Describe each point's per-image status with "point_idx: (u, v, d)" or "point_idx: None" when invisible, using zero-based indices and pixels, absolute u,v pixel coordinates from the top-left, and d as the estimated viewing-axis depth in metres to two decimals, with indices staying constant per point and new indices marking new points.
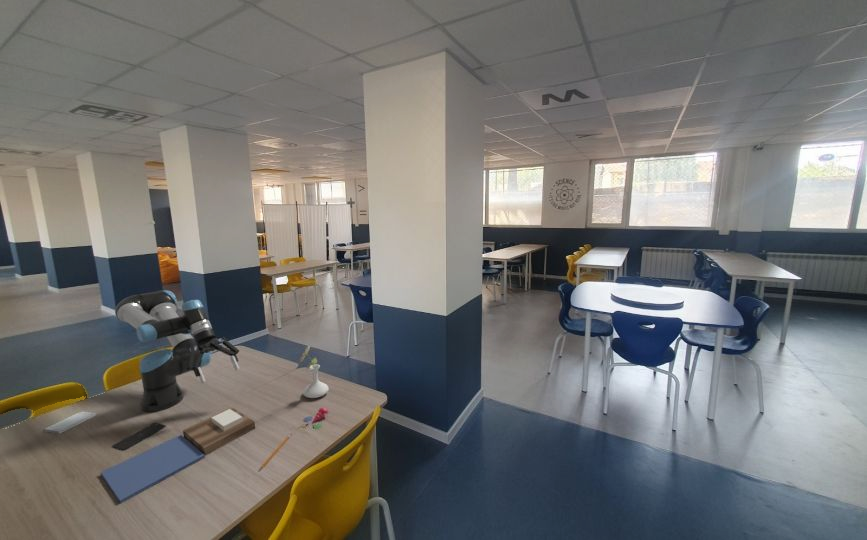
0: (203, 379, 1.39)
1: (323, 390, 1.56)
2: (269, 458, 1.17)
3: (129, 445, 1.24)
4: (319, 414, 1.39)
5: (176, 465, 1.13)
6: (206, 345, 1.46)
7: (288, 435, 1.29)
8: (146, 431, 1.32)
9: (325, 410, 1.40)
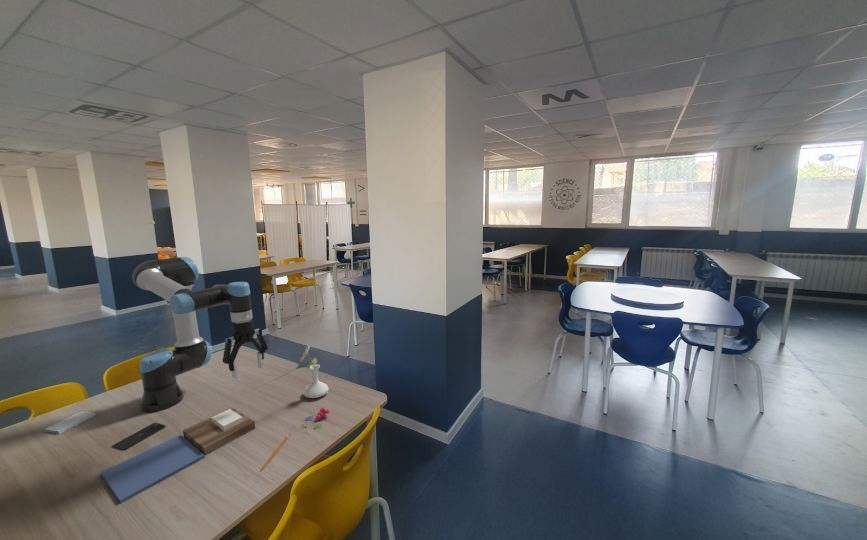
0: (236, 376, 1.33)
1: (323, 390, 1.56)
2: (270, 458, 1.17)
3: (129, 445, 1.24)
4: (320, 414, 1.39)
5: (176, 465, 1.13)
6: (243, 338, 1.34)
7: (287, 435, 1.29)
8: (146, 431, 1.32)
9: (326, 410, 1.40)
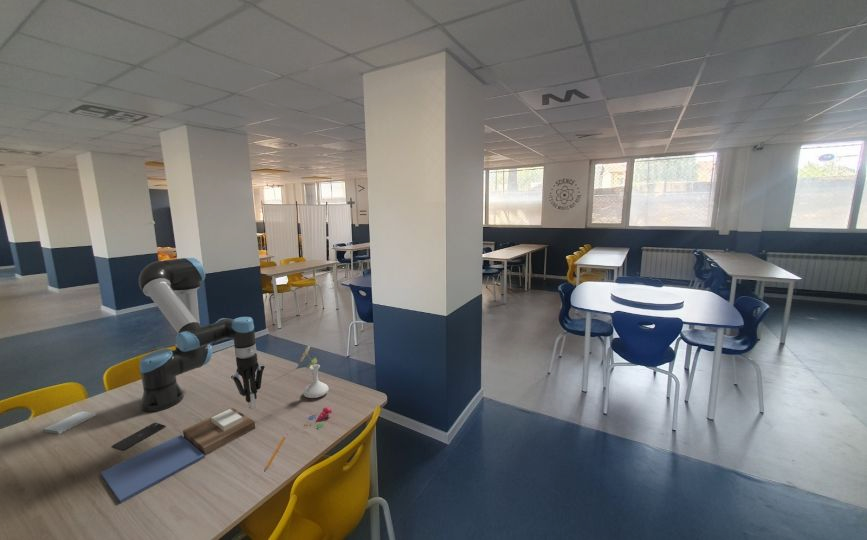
0: (252, 407, 1.40)
1: (323, 390, 1.56)
2: (272, 458, 1.17)
3: (129, 445, 1.24)
4: (323, 413, 1.39)
5: (176, 465, 1.13)
6: (247, 372, 1.36)
7: (284, 435, 1.29)
8: (146, 431, 1.32)
9: (329, 410, 1.40)
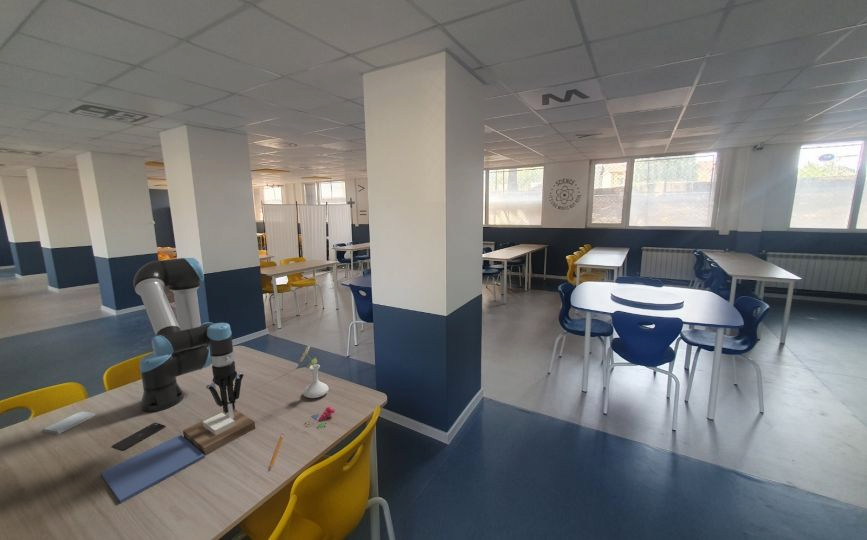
0: (230, 417, 1.33)
1: (323, 390, 1.56)
2: (274, 458, 1.17)
3: (128, 445, 1.24)
4: (325, 413, 1.39)
5: (176, 465, 1.13)
6: (224, 382, 1.29)
7: (281, 435, 1.28)
8: (146, 431, 1.32)
9: (331, 410, 1.40)
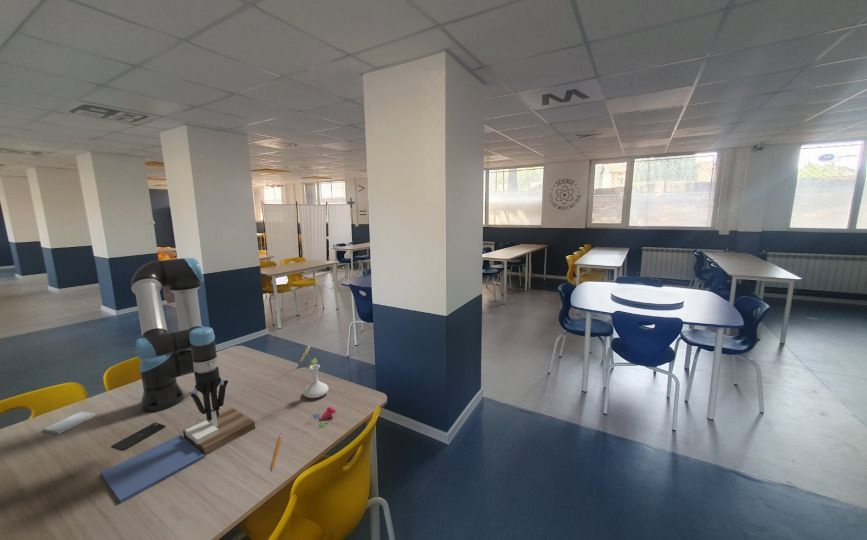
0: (214, 425, 1.28)
1: (323, 390, 1.56)
2: (275, 458, 1.17)
3: (128, 445, 1.24)
4: (326, 413, 1.40)
5: (176, 465, 1.13)
6: (207, 388, 1.24)
7: None
8: (146, 431, 1.32)
9: (332, 409, 1.40)
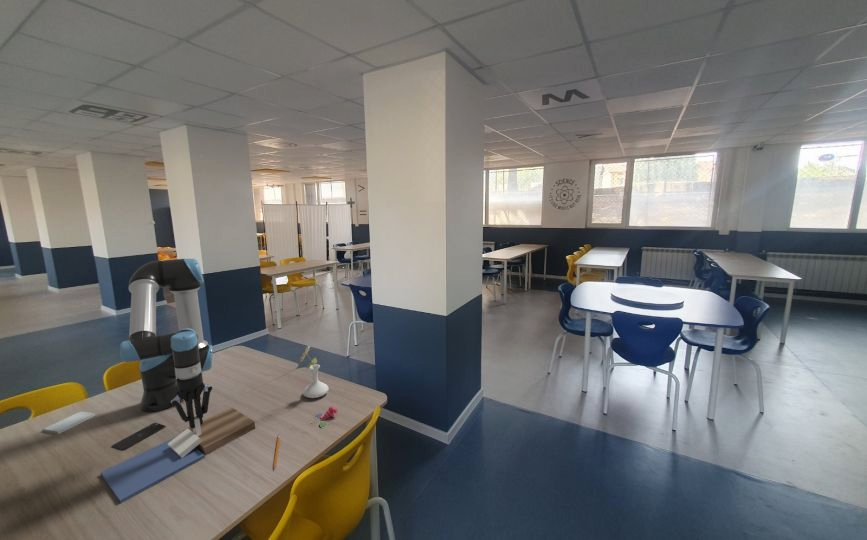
0: (197, 433, 1.23)
1: (323, 390, 1.56)
2: (276, 457, 1.17)
3: (128, 445, 1.24)
4: (328, 413, 1.40)
5: (176, 465, 1.13)
6: (190, 395, 1.20)
7: (278, 436, 1.28)
8: (146, 431, 1.32)
9: (334, 409, 1.40)
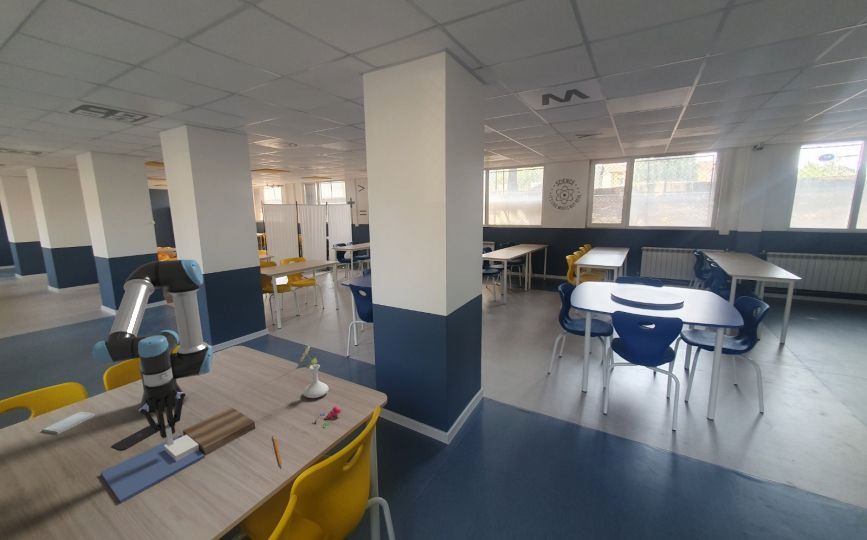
0: (168, 443, 1.16)
1: (323, 390, 1.56)
2: (279, 456, 1.18)
3: (128, 445, 1.24)
4: (331, 412, 1.40)
5: (176, 465, 1.13)
6: (160, 403, 1.13)
7: (273, 437, 1.27)
8: (146, 431, 1.32)
9: (337, 409, 1.40)
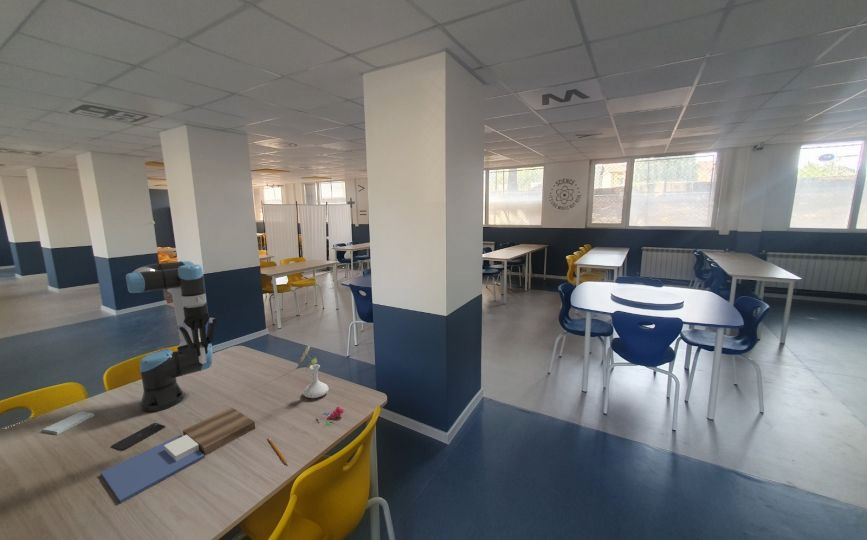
0: (202, 361, 1.32)
1: (323, 390, 1.56)
2: None
3: (128, 445, 1.24)
4: (334, 412, 1.40)
5: (176, 465, 1.13)
6: (196, 323, 1.28)
7: (269, 439, 1.26)
8: (145, 431, 1.32)
9: (340, 410, 1.40)
